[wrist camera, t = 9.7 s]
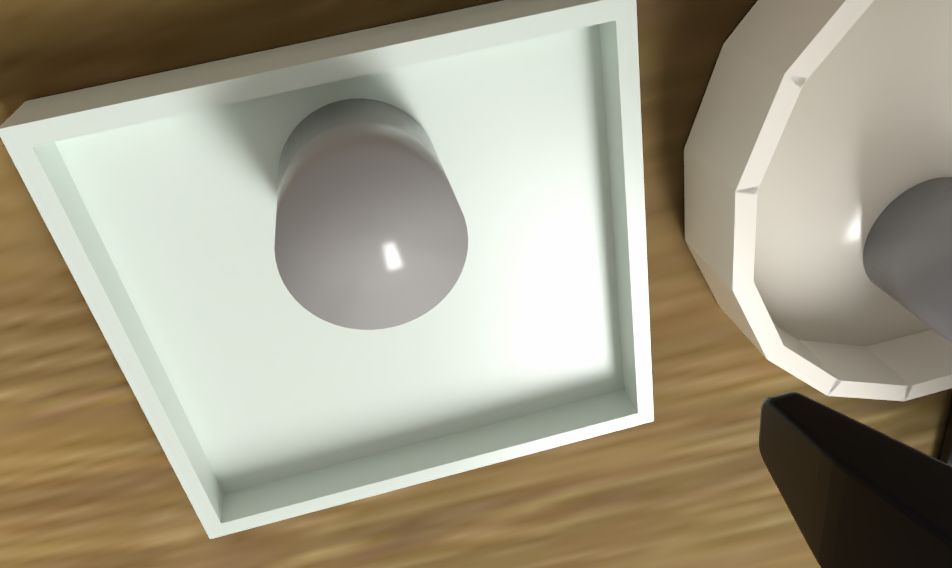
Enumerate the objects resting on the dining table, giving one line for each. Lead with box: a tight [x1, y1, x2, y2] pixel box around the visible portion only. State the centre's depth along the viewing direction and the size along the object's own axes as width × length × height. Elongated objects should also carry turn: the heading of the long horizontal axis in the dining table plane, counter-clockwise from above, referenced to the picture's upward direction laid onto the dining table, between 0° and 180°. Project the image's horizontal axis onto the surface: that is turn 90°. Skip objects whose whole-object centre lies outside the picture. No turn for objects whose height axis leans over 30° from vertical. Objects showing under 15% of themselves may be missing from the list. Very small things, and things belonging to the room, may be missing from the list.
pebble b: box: [274, 98, 468, 330], centre depth 17 cm, size 4×4×4 cm
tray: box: [0, 0, 654, 539], centre depth 21 cm, size 13×14×2 cm
